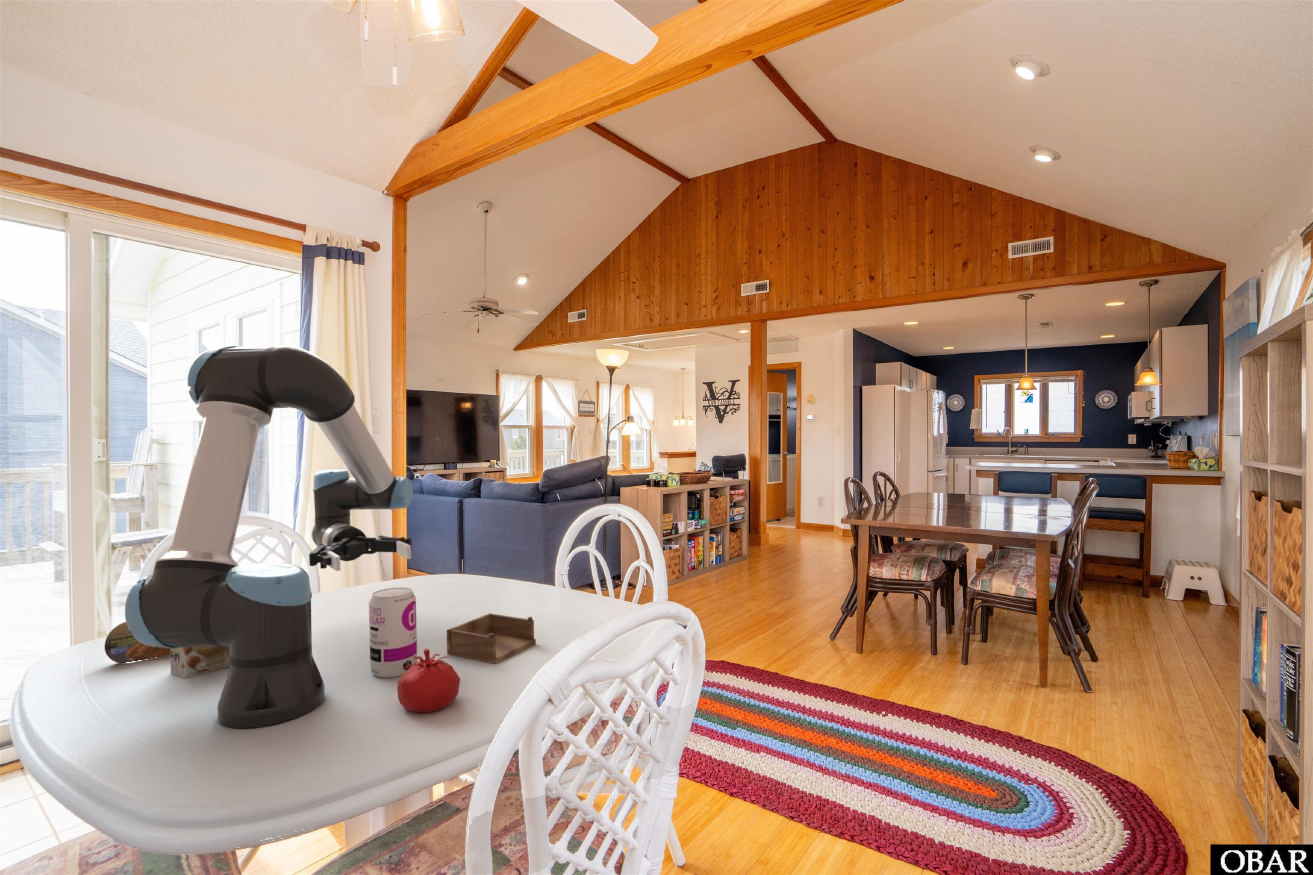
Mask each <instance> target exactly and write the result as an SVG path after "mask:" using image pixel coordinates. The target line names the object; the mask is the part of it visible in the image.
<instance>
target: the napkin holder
mask: <svg viewBox="0 0 1313 875" xmlns="http://www.w3.org/2000/svg"><path fill="white" fill-rule="evenodd" d="M534 644H535V645H536V644H537V640H536V638H535V620H533V617H532V616H528V617H527V618H522V617H517V616H515V617H514V616H510V615H503V614H502V615H501V614H496V613H492V612H491V613H490V612H489V613H487V614H484V615H481V616H479V617H477V618H474V619H472V620H469V621H466V622H464V623H461V624H459V625H455V626H454V627H450V628H448V629H446V654H447V655H449V656H452V657H453V656H454V657H459V658H462V659H468V660H472V661H478V662H482V663H488V664H493V665H496V664H498V663H500V662H502V661H504V660H507V659H508V658H511V657H512V656H514V655H516V654H518V653H521V652H522V651H524V650H527V649H528V648H531V647H532V645H533V646H535V645H534ZM526 648H527V649H526Z"/></svg>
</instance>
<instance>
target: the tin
mask: <svg viewBox="0 0 1313 875" xmlns="http://www.w3.org/2000/svg"><path fill="white" fill-rule="evenodd" d="M104 653H105V655H106V656H107V657H108V658H109V659H110V660H111V661H113V662H115V663H117V664H121V663H126V662H132V661H138V660H145V659H150V660H152V659H151V658H154V659H156V658H155V657H159V658H163V657H162V656H164V657H169V656H170V648H165V647H153V646H147V645H145V644H142V643H141V642H139V641H138V640H136V639H135V638H134V636H133V635H132V631H130V630H129V629H128V626H127V623H126V621H124V622H123V621H122V622H121V623H119V624H118V625H116V626H115V627H113V628H112V629H111V631H109V633H108V635H106V639H105V641H104ZM168 655H169V656H168ZM145 661H146V660H145Z"/></svg>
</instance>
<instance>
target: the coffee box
mask: <svg viewBox="0 0 1313 875" xmlns="http://www.w3.org/2000/svg"><path fill="white" fill-rule="evenodd" d="M169 656H170V657H169V658H170V674H172V675H175V676H178V677H181V678H183V679H189V678H193V677H195V676H199V675H204V674H206V673H210V672H213V671H216V670H219V669H223V668H227V667H230V655H229V647H228V646H220V647H219V646H218V647H179V648H170V655H169Z"/></svg>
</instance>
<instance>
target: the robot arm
mask: <svg viewBox="0 0 1313 875" xmlns="http://www.w3.org/2000/svg"><path fill="white" fill-rule="evenodd" d="M186 381H187V384H186V385H187V387H189V388H190V389H189V390H188V393H189V394H188V395H189V397H190V398H191V401H192V402H194V403H195V404H196V409H195V410H196V411H197V413H198V414H199V415H200V416H201V417H202V419H203V423H202V426H201V430H200V434H199V439H198V442H197V444H196V445H197V447H196V451H195V453H194V458H193V461H192V466H191V469H190V473H189V477H188V482H187V485H186V488H185V493H184V497H183V501H182V505H181V507H180V508H181V509H180V513H179V515H178V520H177V524H176V528H175V531H174V536H173V540H172V543H171V547H170V548H171V549H170V550H169V551H168V553H166V554H164V555H163V556H161V557H160V558H158V559H156V562H155V565H154V568H153V572H152V573H151V574H148V575H146V576H143V577H142V578H139V580H137V582H136V584H133V586H132V587H131V588H130V590H129V592H128V594H127V597H126V600H125V605H124V617H125V622H126V623H127V626H128V629H129V630H130V631H132V635H133V636H134V638H135V639H136V640H138V641H139V642H141V643H142V644H145V645H147V646H153V647H165V648H179V647H218V646H219V647H220V646H228V647H229V655H230V666H229V670H228V674H227V676H226V680H225V683H224V685H223V688H222V691H221V694H220V697H219V700H218V703H217V721H218V723H219V724H221V725H222V726H224V727H228V728H236V729H250V728H259V727H266V726H270V725H271V726H272V725H275V724H280V723H284V722H287V721H290V720H293V719H296V718H299V717H301V716H303V715H305V714H307V713H310V712H311V711H314V710H315V709H316V708H318V707H319V706H320V705H321V704H322V703H323V702H324V701H325V696H326V695H325V682H324V680H323V678H322V675H321V673H320V670H319V667H318V665H317V663H316V661H315V658H314V655H313V643H312V642H313V641H312V639H313V637H312V633H313V632H312V598H313V595H312V594H313V593H312V590H311V589H312V588H311V582H310V575H309V573H308V572H307V571H306V570H305V569H304V568H303V567H301V566H298V565H294V564H291V563H285V562H284V563H283V562H263V563H260V562H251V563H245V564H241V565H240V564H239V563H237V561H235V559H234V558H233V556H232V553H233V548H234V544H235V539H236V535H237V531H238V530H237V529H238V526H239V522H240V521H239V520H240V516H241V512H242V507H243V504H244V499H245V493H246V490H247V485H248V481H249V477H250V473H251V472H250V471H251V466H252V462H253V459H254V453H255V449H256V445H257V440H258V436H259V431H260V429H261V428H264V427H265V426H268V425H269V424H270V423H271V420H272V415H273V412H274V409H287V408H290V409H296V410H299V411H301V412H303V414H304V415H305V417H306V418H307V419H308V420H309V421H310V422H313V423H317V425H318V426H319V427H320V429H321V431H322V432H323V433H324V435H325V437H326V438H327V440H328V441H329V442H330V445H332V447H333V448H334V450H335V452H336V453H337V455H338V456H339V458H340V459H341V460H342V462H343V464H344V465H345V466H346V468H347V469H348V470H347V469H339V468H338V469H324V470H319V471H316V472H315V473H314V475H313V488H312V492H313V500H314V503H313V504H314V525H313V527H312V529H311V535H310V536H311V539H312V541H313V542H314V544H315V545H316V548H314V549H313V550H312V551H310V552H309V554H308V559H309V566H310V567H315V566H317V565H318V564H319V566H320V568H319V569H321V570H322V569H327V568H328V567H330V568H331V569H333V570H335V572H337V571H338V572H339V571H341V562H342V561H343V562H351V561H355V560H356V559H359V558H361V556H362V555H363V556H364V555H373V554H376V553H396V555H398V556H400V557H402V558H404V559H406V560H410V559H412V551H413V544H412V543H413V540H412V538H410V537H409V538H407V537H404V536H402V537H396V536H395V537H393V536H385V535H378V537H368V536H367V535H366V534H365V533H364V532H363V531H362V530H361V529H360V528H357V527H355V526H353V525H351V510H352V511H355V510H357V511H358V510H390V511H392V510H398V509H407V507H409V506H410V504H411V503H412V499H413V496H414V495H413V493H414V491H413V490H414V489H413V488H414V487H413V485H412V481H411V480H410V479H409V478H408V477H403V476H401V475H400V476H395V475H394V473H393V471H392V470H391V468H390V466H389V464H388V462H387V460H386V459H385V457H384V456H383V454H382V452H381V451H380V449H379V447H378V445H377V443H376V441H375V440H374V438H373V437H372V435H371V433H370V431H369V429H368V428H367V426H366V424H365V423H364V421H363V419H362V417H361V415H360V414H359V412H358V411H357V409H356V407H355V402H356V396H355V394H354V392H353V391H352V388H351V387H350V386H349V383H348V382H347V381H346V380H345V378H344V377H343V376H342V375H341V374H340V373H339V371H337V370H336V369H335V368H334V367H333V366H331V365H330V364H329V363H328V362H326V361H325V360H324V359H322V358H321V357H319V356H317V355H316V354H314V353H313V352H311V351H308V350H306V349H304V348H301V347H296V346H292V345H277V346H276V345H275V346H273V345H271V346H266V345H265V346H237V345H229V346H228V345H226V346H223V347H214V348H209V349H207V350H205V351H203V352H200V354H199V355H197V357H196V358H195V359H193V361H192V364H191V365H190V366H189V369H188V373H187V380H186ZM349 473H350V474H351V475H352V476H353V477H351V476H350V474H349Z"/></svg>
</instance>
